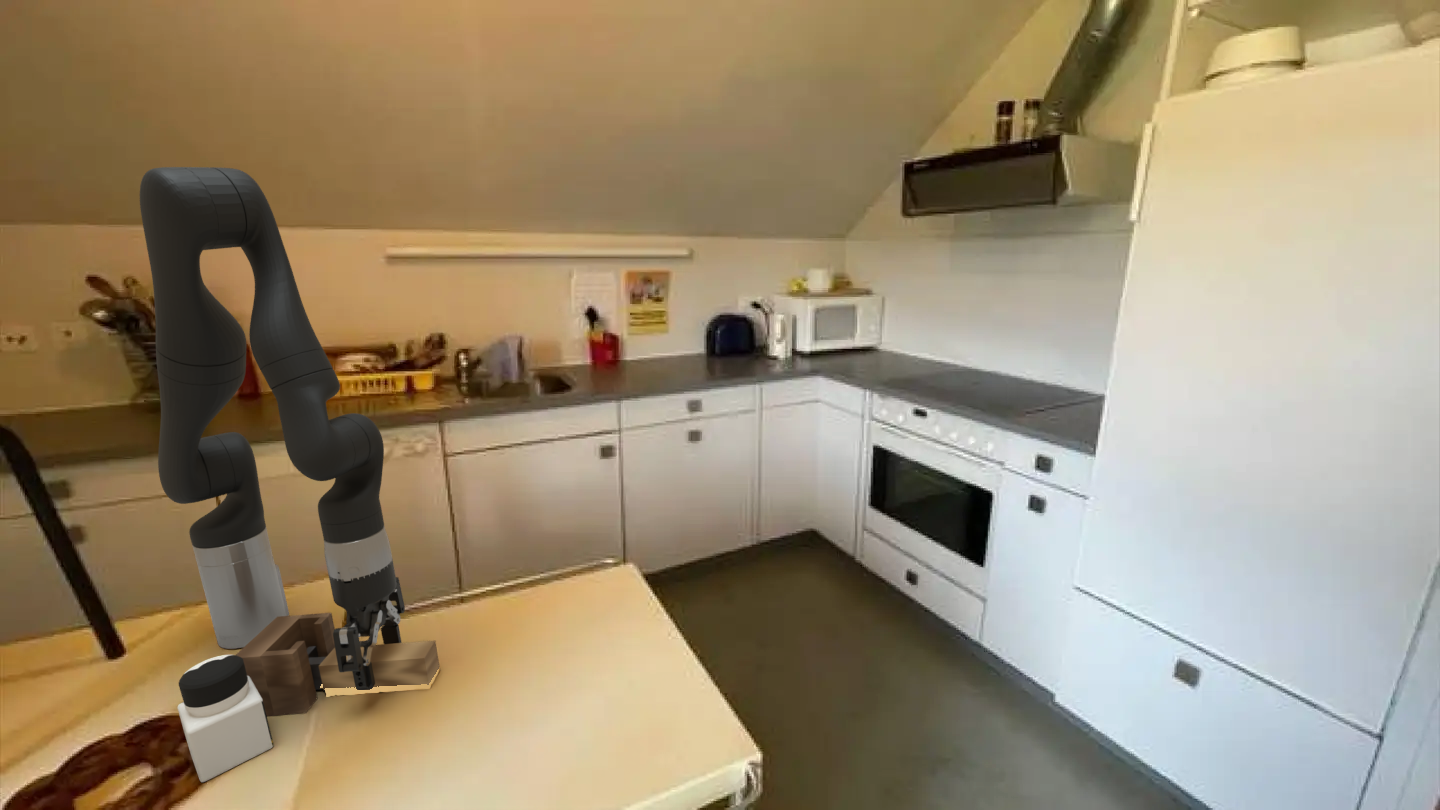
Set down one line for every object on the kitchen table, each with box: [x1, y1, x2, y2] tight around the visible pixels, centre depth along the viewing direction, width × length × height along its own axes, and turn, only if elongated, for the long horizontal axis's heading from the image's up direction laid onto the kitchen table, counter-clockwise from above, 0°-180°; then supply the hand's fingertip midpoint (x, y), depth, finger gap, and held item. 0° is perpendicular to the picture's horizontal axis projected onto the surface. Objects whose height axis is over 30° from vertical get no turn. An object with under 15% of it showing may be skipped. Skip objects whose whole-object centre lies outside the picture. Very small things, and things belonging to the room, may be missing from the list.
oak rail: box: [307, 639, 441, 690], centre depth 86 cm, size 18×6×5 cm, turn 94°
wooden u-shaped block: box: [235, 612, 336, 717], centre depth 84 cm, size 8×10×9 cm
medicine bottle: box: [177, 654, 274, 783], centre depth 74 cm, size 7×7×12 cm
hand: (380, 667), depth 86 cm, fingers open, 8 cm apart
